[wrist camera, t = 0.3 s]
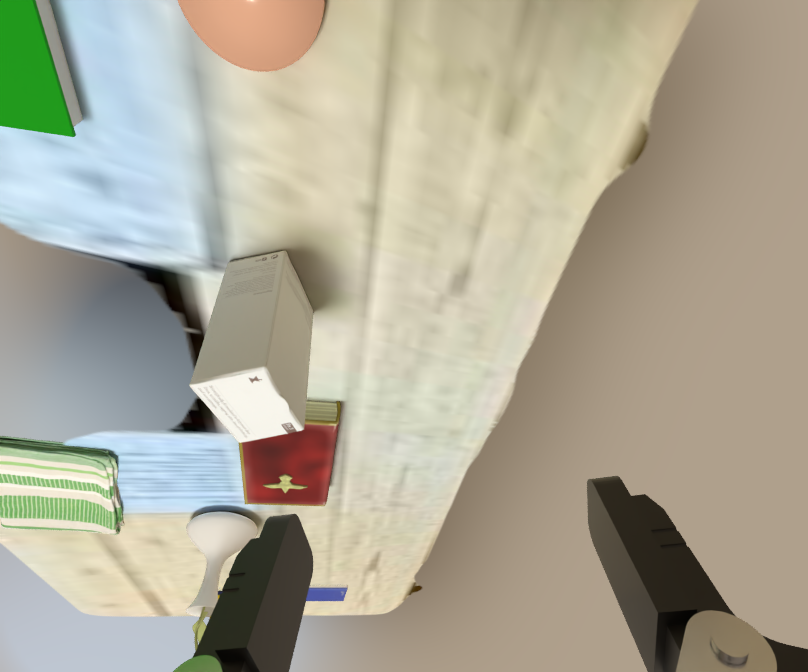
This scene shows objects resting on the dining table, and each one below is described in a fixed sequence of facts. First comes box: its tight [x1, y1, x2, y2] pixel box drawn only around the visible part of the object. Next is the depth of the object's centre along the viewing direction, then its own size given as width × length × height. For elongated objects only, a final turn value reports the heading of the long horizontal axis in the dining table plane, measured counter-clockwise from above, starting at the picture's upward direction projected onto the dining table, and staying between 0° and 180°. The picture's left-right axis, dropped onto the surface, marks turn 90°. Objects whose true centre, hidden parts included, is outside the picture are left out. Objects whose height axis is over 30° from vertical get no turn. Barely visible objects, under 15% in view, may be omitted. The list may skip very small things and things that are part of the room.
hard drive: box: [306, 585, 347, 601], centre depth 102 cm, size 2×8×12 cm
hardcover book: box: [239, 401, 341, 506], centre depth 61 cm, size 12×21×4 cm, turn 169°
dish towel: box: [0, 436, 124, 535], centre depth 64 cm, size 18×23×3 cm
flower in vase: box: [186, 512, 258, 650], centre depth 66 cm, size 13×11×25 cm
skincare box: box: [189, 251, 314, 443], centre depth 38 cm, size 8×6×15 cm
